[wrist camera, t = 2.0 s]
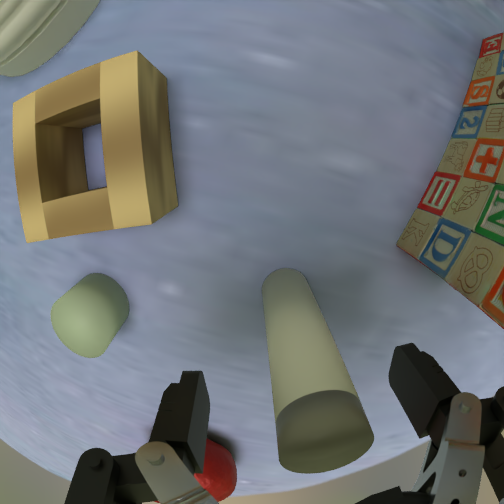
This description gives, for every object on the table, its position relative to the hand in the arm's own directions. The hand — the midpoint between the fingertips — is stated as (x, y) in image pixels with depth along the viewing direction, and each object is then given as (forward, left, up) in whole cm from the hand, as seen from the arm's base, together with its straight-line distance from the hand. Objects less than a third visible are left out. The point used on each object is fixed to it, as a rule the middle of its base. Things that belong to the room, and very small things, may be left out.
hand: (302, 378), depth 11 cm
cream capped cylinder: (0, 0, -8) cm, 8 cm away
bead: (0, -13, -8) cm, 15 cm away
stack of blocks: (-10, +16, -9) cm, 21 cm away
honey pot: (-25, -17, -8) cm, 31 cm away
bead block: (-10, -10, -8) cm, 16 cm away
